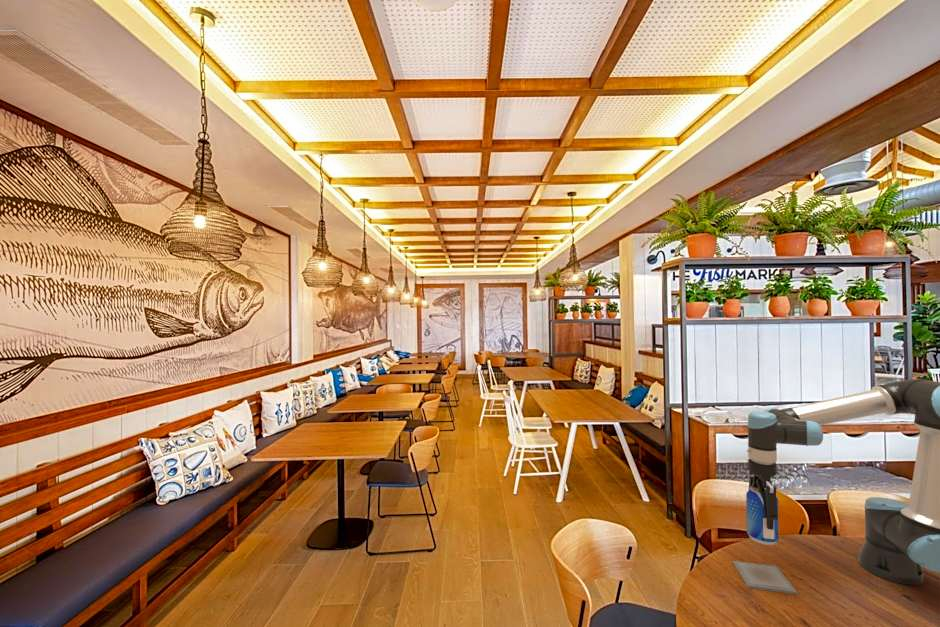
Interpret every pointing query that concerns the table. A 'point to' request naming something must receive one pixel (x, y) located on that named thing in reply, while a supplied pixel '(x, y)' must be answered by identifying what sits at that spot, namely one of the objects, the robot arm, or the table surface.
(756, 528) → the beer can
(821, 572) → the table surface
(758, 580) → the plate
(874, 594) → the table surface
